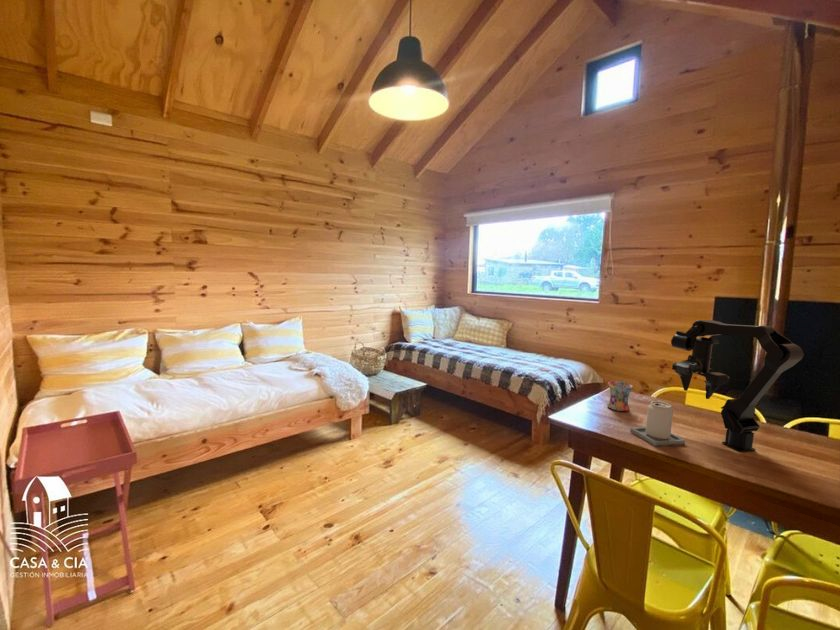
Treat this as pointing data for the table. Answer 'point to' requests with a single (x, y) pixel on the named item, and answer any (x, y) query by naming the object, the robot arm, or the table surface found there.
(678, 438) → the slate dish
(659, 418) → the can
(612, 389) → the mug
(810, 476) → the table surface
